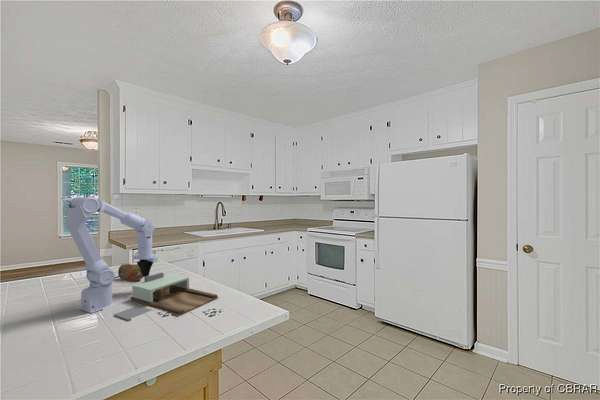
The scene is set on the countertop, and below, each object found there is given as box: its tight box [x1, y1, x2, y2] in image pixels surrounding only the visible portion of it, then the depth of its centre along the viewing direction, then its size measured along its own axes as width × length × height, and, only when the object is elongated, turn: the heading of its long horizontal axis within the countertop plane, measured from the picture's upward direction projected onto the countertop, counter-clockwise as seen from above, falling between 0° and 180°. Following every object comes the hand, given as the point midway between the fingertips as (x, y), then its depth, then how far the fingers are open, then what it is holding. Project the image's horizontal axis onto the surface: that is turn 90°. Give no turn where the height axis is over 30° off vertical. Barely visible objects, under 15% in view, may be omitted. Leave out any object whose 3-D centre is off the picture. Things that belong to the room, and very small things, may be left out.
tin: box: [117, 263, 144, 282], centre depth 144 cm, size 15×3×8 cm, turn 73°
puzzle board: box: [129, 285, 219, 317], centre depth 116 cm, size 20×30×2 cm, turn 62°
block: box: [154, 286, 169, 298], centre depth 120 cm, size 4×4×5 cm
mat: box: [113, 305, 152, 322], centre depth 103 cm, size 9×9×1 cm
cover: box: [131, 272, 190, 302], centre depth 120 cm, size 18×12×7 cm, turn 152°
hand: (145, 276), depth 125 cm, fingers closed
